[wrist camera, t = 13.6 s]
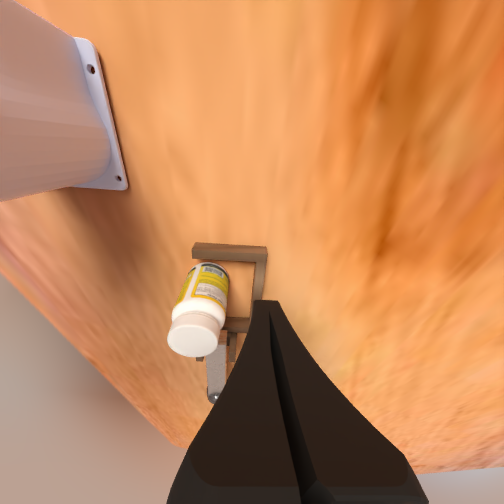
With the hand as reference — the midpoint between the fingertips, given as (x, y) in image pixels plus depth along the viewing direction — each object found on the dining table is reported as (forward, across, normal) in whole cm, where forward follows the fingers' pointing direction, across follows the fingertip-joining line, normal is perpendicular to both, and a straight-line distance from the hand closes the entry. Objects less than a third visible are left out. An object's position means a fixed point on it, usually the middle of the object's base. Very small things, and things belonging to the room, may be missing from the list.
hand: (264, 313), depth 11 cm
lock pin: (+9, +4, +19) cm, 21 cm away
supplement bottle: (+11, +5, +6) cm, 13 cm away
